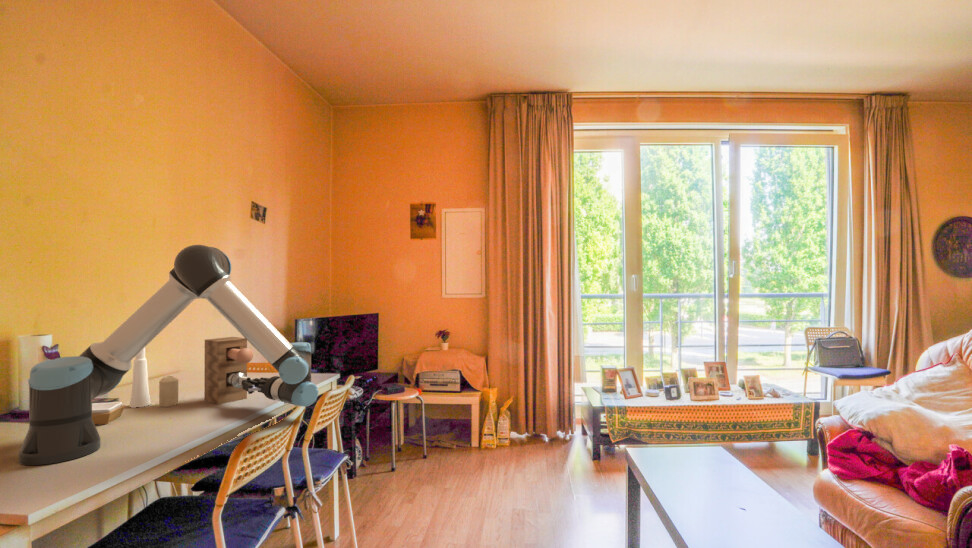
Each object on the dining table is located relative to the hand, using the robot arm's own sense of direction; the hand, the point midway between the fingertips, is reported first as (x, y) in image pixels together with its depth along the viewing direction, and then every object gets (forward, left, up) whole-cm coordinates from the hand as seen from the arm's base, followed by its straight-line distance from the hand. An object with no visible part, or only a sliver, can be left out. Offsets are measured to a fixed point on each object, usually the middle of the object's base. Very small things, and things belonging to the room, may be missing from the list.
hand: (241, 380), depth 164 cm
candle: (+13, +21, -8) cm, 26 cm away
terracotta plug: (+2, +1, +6) cm, 7 cm away
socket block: (+9, +4, -8) cm, 12 cm away
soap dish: (+4, +40, -8) cm, 41 cm away
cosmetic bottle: (+18, +29, -8) cm, 35 cm away
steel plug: (+5, +2, -2) cm, 6 cm away
